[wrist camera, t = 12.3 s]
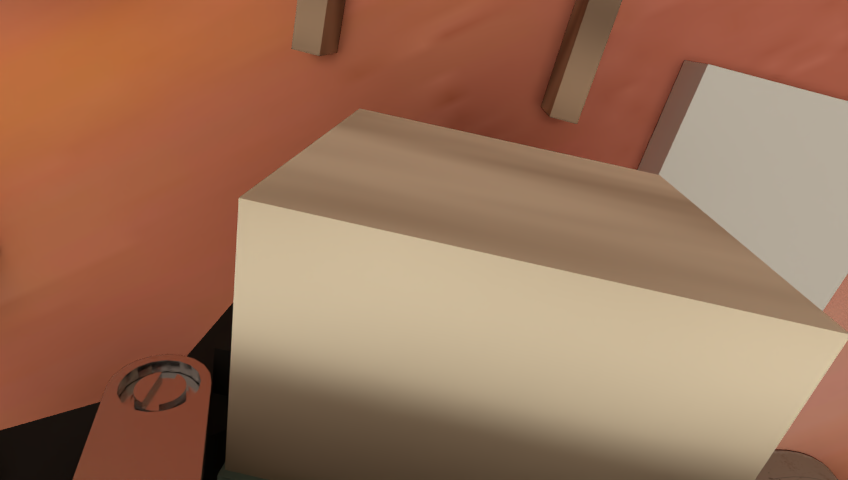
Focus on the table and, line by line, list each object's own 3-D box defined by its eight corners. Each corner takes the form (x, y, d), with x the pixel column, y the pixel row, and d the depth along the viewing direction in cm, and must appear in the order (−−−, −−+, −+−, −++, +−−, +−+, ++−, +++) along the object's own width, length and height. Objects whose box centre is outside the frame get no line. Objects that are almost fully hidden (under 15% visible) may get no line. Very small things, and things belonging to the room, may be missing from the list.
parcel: (531, 493, 13) (564, 780, 8) (309, 442, 14) (207, 698, 8) (661, 175, 10) (862, 341, 5) (357, 107, 10) (228, 199, 5)
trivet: (763, 332, 28) (789, 360, 25) (587, 287, 27) (597, 310, 25) (897, 116, 23) (945, 127, 20) (684, 60, 23) (708, 64, 20)
